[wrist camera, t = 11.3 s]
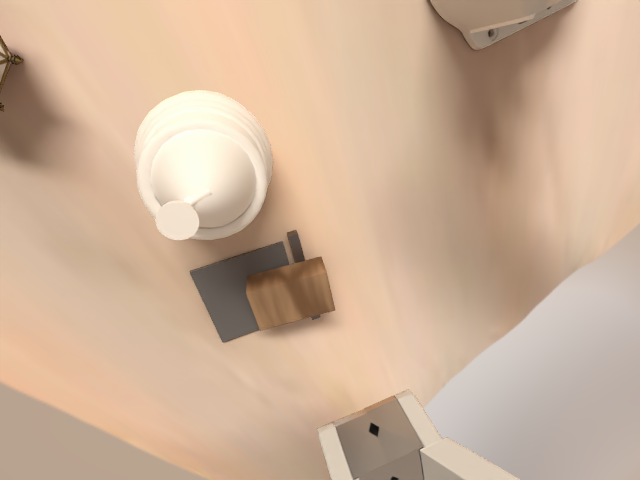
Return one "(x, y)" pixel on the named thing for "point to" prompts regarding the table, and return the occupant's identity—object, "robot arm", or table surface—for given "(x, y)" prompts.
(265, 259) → the mat
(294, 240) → the rail
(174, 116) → the honey pot
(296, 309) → the walnut block
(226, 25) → the table surface
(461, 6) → the robot arm
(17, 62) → the twenty-sided die
